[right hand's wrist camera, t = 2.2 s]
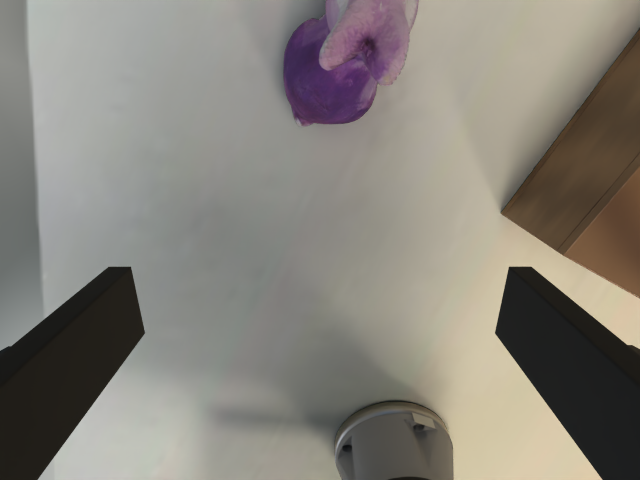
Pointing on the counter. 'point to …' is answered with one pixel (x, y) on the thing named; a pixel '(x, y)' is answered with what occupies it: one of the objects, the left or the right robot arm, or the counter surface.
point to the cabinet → (593, 181)
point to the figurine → (346, 58)
